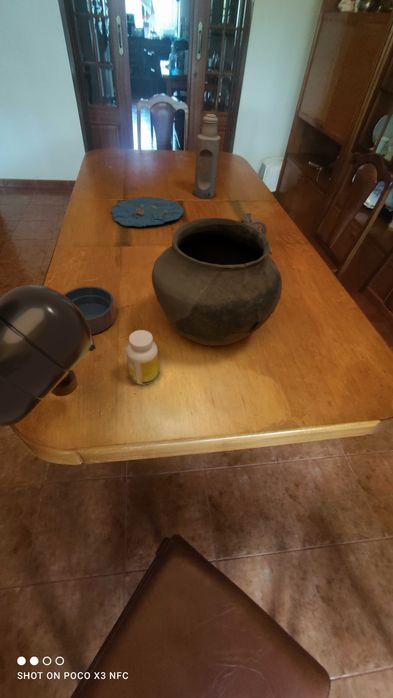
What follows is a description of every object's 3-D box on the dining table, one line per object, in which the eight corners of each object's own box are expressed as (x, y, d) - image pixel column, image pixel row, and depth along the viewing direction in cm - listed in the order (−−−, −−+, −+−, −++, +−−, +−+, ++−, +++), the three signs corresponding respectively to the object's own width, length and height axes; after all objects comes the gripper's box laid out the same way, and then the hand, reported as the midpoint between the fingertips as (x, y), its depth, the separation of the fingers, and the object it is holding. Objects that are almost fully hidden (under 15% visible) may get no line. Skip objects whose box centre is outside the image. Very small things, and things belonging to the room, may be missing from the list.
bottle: (191, 196, 143) (196, 115, 121) (196, 189, 150) (201, 111, 128) (212, 200, 142) (220, 118, 120) (216, 192, 149) (224, 113, 127)
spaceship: (257, 246, 99) (282, 236, 98) (232, 210, 125) (251, 202, 124) (262, 267, 104) (285, 258, 104) (237, 228, 131) (255, 221, 130)
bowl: (67, 343, 76) (61, 326, 72) (58, 309, 85) (52, 292, 81) (122, 329, 81) (120, 312, 77) (108, 298, 89) (105, 281, 85)
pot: (250, 390, 70) (279, 301, 52) (132, 339, 79) (121, 247, 61) (286, 316, 89) (316, 232, 71) (187, 282, 97) (191, 198, 79)
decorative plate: (93, 220, 124) (90, 206, 120) (139, 195, 142) (138, 183, 138) (156, 239, 114) (155, 225, 110) (197, 210, 132) (197, 197, 129)
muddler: (52, 400, 56) (33, 358, 48) (48, 380, 59) (30, 338, 51) (80, 391, 58) (66, 350, 50) (74, 372, 61) (61, 330, 53)
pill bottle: (164, 371, 72) (164, 335, 64) (146, 390, 68) (143, 354, 60) (141, 359, 74) (138, 322, 66) (123, 377, 70) (117, 340, 62)
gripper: (92, 310, 41) (87, 322, 57) (-34, 337, 36) (0, 342, 52) (108, 366, 41) (99, 362, 57) (-14, 400, 36) (14, 385, 53)
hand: (52, 352), depth 55 cm, fingers closed on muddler, 3 cm apart
